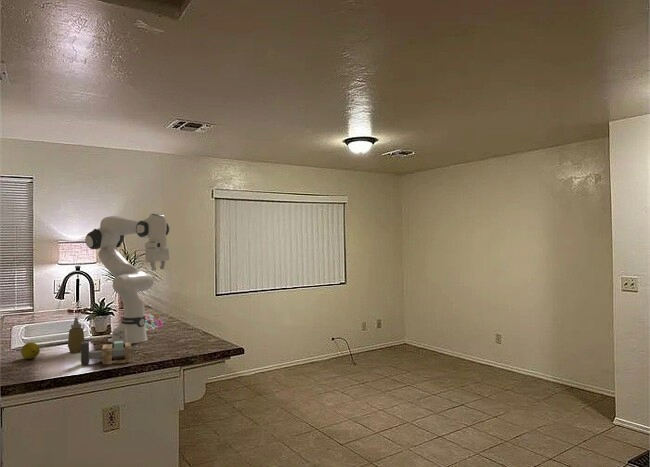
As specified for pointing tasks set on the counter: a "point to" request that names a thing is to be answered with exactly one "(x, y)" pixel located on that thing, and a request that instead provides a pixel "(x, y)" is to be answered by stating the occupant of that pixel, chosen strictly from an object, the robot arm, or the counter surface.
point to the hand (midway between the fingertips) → (158, 269)
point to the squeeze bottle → (75, 337)
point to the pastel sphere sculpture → (152, 322)
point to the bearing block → (108, 356)
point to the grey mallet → (96, 353)
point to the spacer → (118, 345)
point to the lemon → (30, 350)
